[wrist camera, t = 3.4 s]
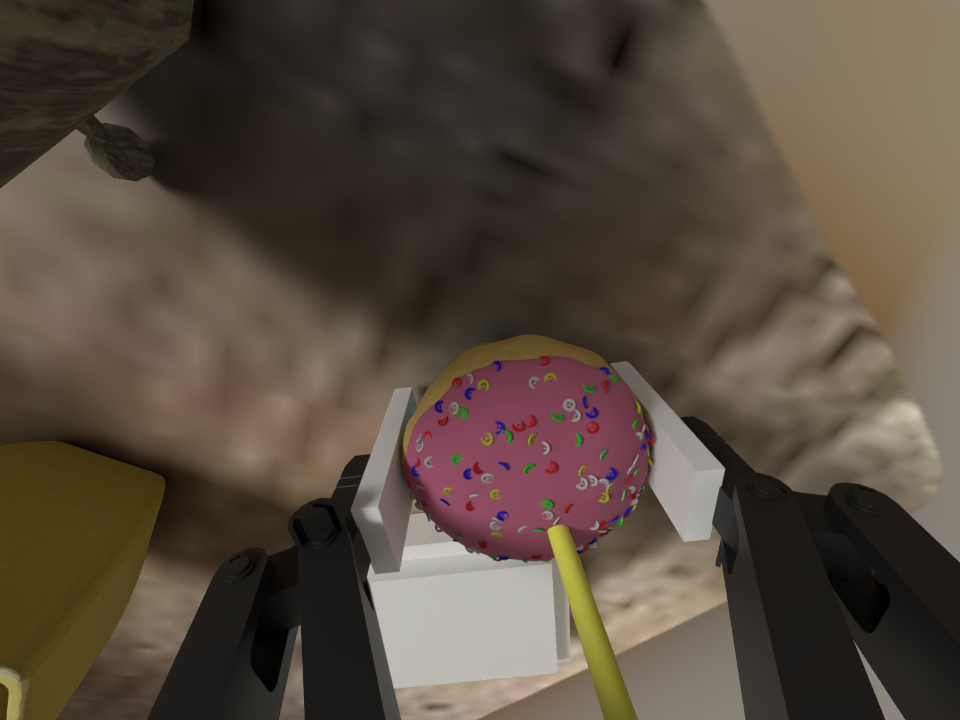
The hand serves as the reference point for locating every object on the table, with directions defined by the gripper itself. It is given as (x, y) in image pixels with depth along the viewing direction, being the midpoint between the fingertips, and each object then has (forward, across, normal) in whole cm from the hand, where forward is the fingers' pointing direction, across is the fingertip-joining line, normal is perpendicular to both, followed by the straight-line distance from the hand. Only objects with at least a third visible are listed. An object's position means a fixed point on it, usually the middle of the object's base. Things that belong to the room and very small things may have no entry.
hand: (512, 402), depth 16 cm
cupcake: (+1, 0, 0) cm, 1 cm away
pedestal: (+1, -4, -13) cm, 14 cm away
